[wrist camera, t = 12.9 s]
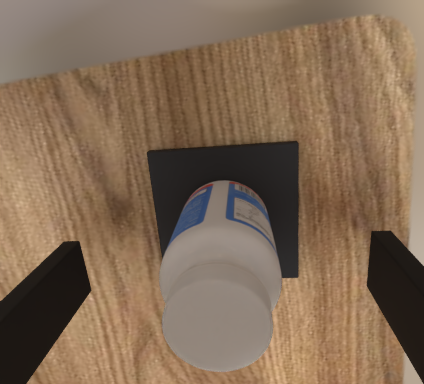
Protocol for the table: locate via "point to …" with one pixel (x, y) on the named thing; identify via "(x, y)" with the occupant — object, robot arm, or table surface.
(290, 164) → the mat
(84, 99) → the table surface
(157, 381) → the table surface
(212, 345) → the pill bottle
